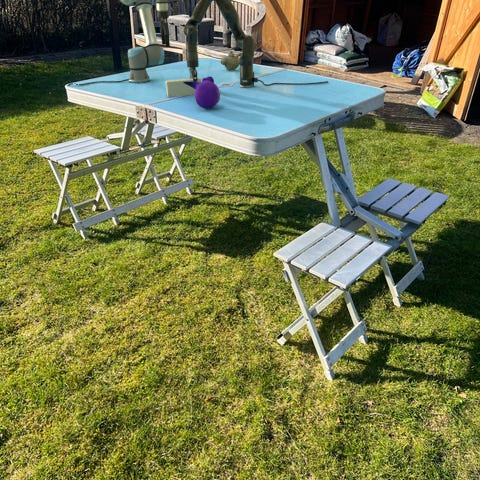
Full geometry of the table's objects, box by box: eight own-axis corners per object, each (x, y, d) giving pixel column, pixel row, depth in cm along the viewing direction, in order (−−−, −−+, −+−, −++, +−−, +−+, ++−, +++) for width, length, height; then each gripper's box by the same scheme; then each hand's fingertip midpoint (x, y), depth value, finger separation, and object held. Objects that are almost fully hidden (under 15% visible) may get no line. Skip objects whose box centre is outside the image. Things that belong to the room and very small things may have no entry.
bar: (168, 96, 293) (166, 82, 288) (166, 95, 297) (165, 80, 292) (202, 93, 298) (201, 79, 294) (200, 92, 303) (199, 77, 298)
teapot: (224, 72, 363) (223, 52, 355) (217, 70, 371) (216, 51, 364) (246, 69, 372) (246, 50, 364) (239, 67, 380) (239, 48, 373)
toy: (207, 99, 283) (220, 114, 262) (180, 94, 275) (191, 110, 255) (213, 74, 275) (226, 87, 254) (185, 68, 267) (197, 82, 247)
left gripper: (172, 11, 286) (175, 47, 296) (164, 9, 306) (167, 43, 317) (160, 11, 284) (163, 48, 294) (153, 10, 304) (157, 44, 315)
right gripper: (200, 60, 283) (202, 88, 292) (195, 57, 295) (197, 83, 304) (188, 61, 282) (190, 88, 290) (184, 57, 294) (186, 84, 302)
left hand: (165, 45), depth 306 cm, fingers open, 13 cm apart
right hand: (194, 86), depth 297 cm, fingers closed on bar, 5 cm apart
